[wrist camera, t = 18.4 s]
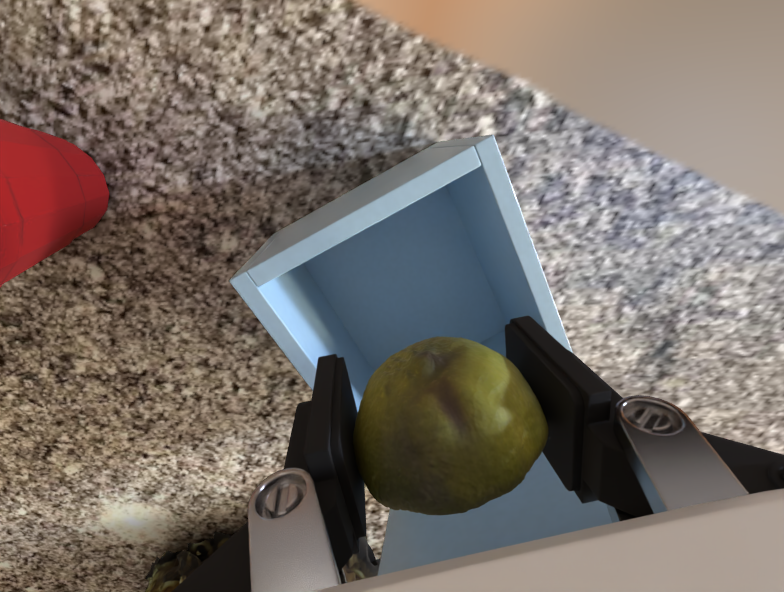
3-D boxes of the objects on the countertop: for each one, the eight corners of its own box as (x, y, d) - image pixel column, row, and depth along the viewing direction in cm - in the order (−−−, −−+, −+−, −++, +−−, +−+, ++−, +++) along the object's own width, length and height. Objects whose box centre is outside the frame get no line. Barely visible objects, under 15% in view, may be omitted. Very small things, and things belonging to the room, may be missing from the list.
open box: (272, 233, 25) (228, 280, 16) (438, 141, 24) (493, 133, 15) (380, 395, 31) (393, 497, 22) (517, 326, 30) (591, 403, 21)
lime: (520, 349, 12) (628, 473, 7) (431, 448, 13) (475, 609, 8) (413, 277, 11) (461, 375, 6) (325, 395, 12) (309, 551, 7)
